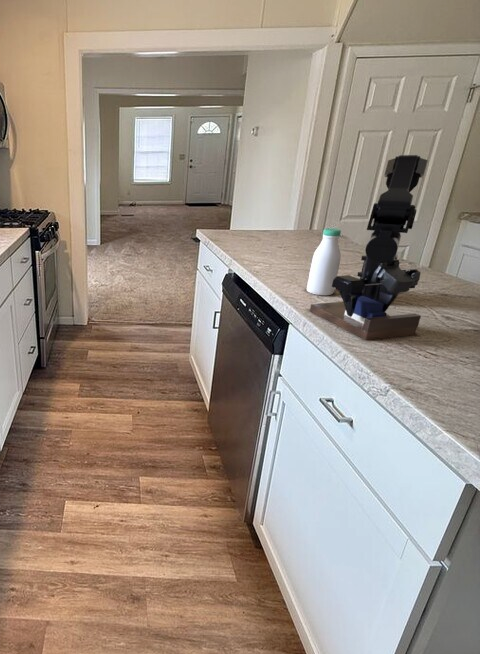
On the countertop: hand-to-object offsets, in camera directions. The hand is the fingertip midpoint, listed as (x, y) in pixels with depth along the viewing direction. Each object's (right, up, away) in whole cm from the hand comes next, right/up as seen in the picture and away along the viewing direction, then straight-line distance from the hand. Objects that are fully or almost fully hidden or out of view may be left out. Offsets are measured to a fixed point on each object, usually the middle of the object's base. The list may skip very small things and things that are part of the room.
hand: (365, 314), depth 101 cm
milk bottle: (+4, +7, +28) cm, 29 cm away
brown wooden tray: (+1, -2, +5) cm, 5 cm away
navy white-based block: (0, -1, +1) cm, 2 cm away
